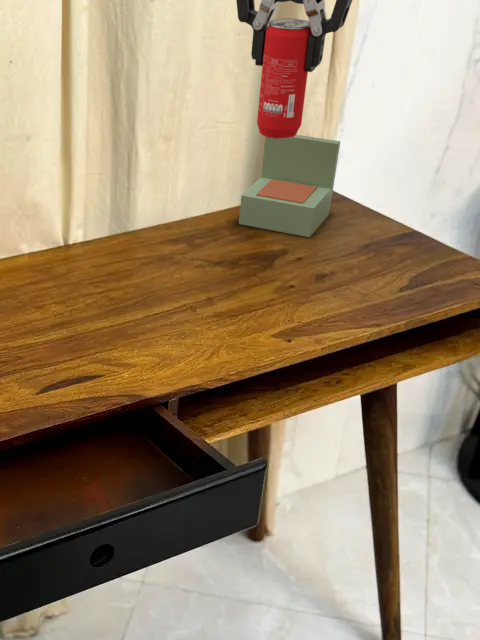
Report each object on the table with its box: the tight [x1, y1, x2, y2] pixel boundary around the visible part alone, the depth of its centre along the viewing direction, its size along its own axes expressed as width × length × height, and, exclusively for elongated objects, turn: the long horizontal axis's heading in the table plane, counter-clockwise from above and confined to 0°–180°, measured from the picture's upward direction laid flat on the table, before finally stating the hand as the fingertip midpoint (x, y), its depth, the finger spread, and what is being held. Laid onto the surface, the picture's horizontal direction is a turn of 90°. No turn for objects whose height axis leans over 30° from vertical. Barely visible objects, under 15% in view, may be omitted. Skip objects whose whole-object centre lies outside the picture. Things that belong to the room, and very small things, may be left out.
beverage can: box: [256, 18, 312, 139], centre depth 113 cm, size 5×5×12 cm
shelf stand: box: [238, 134, 341, 238], centre depth 132 cm, size 10×9×10 cm
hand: (285, 66), depth 113 cm, fingers closed on beverage can, 5 cm apart
